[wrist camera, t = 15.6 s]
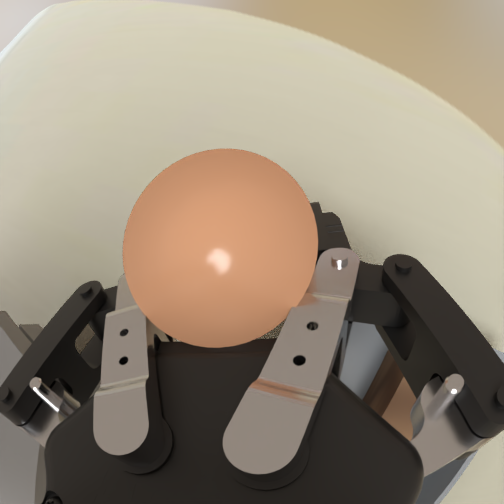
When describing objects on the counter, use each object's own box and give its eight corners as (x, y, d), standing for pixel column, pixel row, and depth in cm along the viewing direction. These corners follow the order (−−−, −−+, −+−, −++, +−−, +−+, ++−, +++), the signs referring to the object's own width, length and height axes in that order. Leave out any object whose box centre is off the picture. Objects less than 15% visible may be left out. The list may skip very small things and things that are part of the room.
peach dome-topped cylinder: (285, 336, 17) (263, 383, 6) (209, 301, 18) (97, 290, 7) (319, 258, 18) (348, 187, 7) (243, 226, 19) (175, 130, 8)
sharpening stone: (83, 313, 24) (-11, 310, 14) (145, 360, 23) (50, 386, 12) (44, 471, 23) (-13, 496, 12) (88, 511, 21) (35, 548, 10)
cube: (410, 427, 17) (432, 454, 13) (357, 409, 19) (369, 436, 14) (441, 369, 18) (472, 383, 13) (388, 348, 19) (411, 360, 14)
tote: (374, 530, 16) (381, 561, 11) (236, 489, 19) (221, 520, 15) (489, 354, 18) (521, 361, 13) (347, 289, 21) (359, 286, 16)
